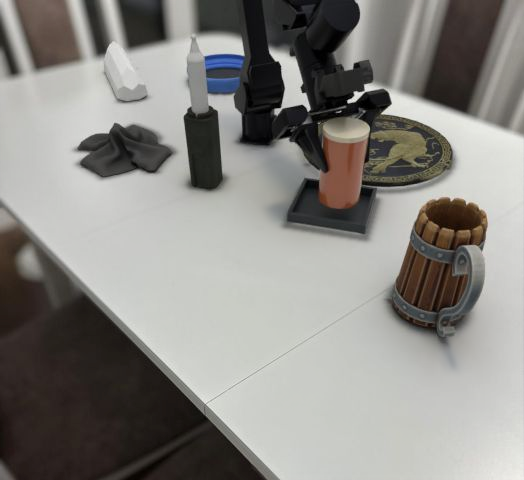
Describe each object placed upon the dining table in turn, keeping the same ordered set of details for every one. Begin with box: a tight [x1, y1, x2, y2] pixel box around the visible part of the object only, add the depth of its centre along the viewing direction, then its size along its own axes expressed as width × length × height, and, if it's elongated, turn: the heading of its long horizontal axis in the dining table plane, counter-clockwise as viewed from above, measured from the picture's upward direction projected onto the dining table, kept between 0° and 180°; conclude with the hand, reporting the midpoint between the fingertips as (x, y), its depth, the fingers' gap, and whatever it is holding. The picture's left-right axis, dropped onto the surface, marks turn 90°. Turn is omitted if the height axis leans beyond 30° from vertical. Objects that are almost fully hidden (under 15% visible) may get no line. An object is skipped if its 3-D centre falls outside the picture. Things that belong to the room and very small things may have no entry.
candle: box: [183, 33, 224, 190], centre depth 91 cm, size 5×5×25 cm
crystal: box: [103, 41, 149, 102], centre depth 131 cm, size 7×7×24 cm
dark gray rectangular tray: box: [286, 177, 378, 234], centre depth 92 cm, size 13×12×2 cm
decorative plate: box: [301, 113, 454, 188], centre depth 107 cm, size 30×2×30 cm
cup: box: [318, 117, 370, 209], centre depth 85 cm, size 7×7×12 cm
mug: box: [391, 196, 489, 338], centre depth 69 cm, size 16×11×15 cm
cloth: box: [77, 122, 173, 177], centre depth 107 cm, size 22×19×6 cm
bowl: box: [186, 53, 245, 93], centre depth 133 cm, size 18×18×4 cm
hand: (346, 167), depth 84 cm, fingers closed on cup, 7 cm apart
